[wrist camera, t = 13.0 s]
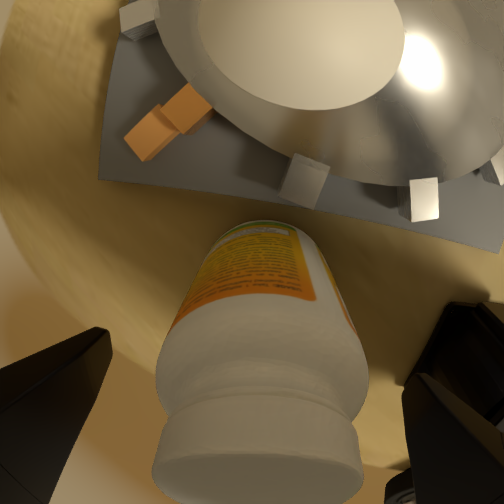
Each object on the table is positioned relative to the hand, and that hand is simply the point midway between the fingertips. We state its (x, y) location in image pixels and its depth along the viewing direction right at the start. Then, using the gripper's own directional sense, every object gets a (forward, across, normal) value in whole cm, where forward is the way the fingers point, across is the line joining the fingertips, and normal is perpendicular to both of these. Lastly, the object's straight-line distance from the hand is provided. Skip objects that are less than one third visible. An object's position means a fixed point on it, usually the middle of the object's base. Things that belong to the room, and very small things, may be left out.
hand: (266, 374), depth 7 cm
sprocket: (+5, -2, -14) cm, 15 cm away
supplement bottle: (+6, 0, 0) cm, 6 cm away
